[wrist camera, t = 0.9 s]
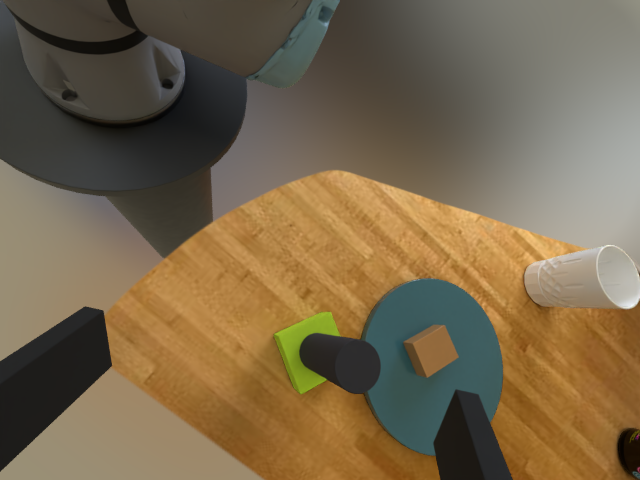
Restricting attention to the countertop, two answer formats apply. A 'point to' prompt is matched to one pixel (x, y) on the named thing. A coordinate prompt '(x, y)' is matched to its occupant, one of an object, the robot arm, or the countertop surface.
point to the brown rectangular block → (430, 350)
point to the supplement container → (630, 451)
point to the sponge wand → (327, 356)
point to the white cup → (585, 280)
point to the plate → (437, 390)
